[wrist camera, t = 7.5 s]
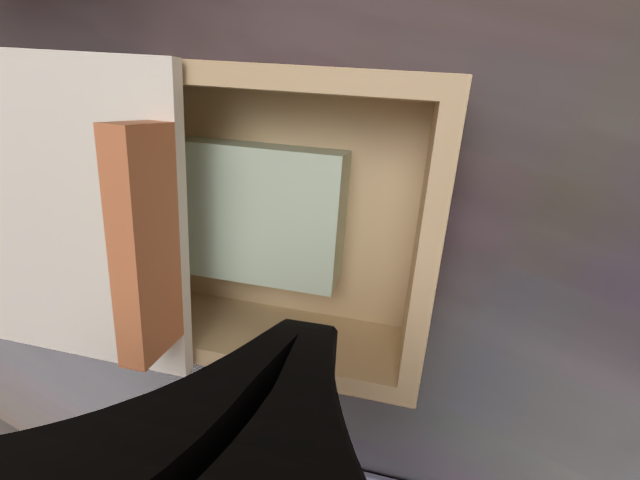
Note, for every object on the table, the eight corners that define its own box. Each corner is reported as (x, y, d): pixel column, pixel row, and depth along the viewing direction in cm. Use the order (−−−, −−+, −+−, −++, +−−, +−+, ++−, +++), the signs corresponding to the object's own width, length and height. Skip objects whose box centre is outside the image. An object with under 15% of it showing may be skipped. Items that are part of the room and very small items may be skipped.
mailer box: (416, 338, 21) (415, 409, 16) (164, 294, 24) (97, 344, 19) (456, 83, 17) (472, 74, 12) (151, 65, 20) (62, 52, 15)
